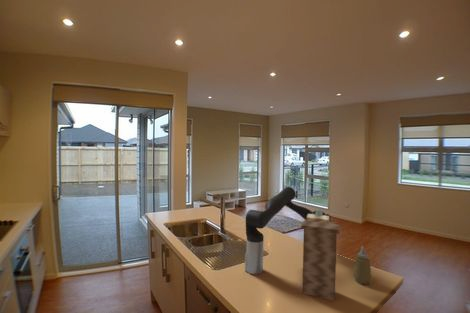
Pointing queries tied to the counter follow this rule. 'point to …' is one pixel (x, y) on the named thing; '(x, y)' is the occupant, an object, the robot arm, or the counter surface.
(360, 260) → the squeeze bottle
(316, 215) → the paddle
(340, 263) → the counter surface
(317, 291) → the stand
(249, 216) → the robot arm
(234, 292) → the counter surface
